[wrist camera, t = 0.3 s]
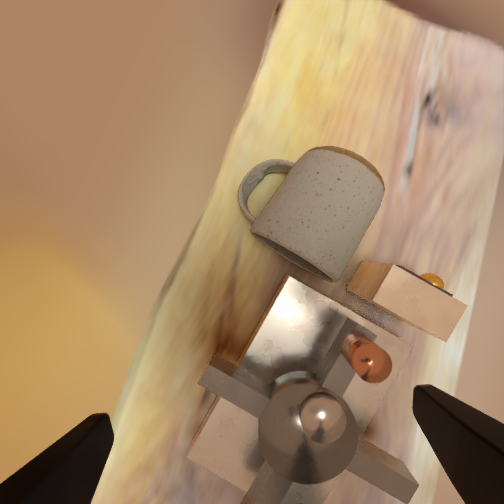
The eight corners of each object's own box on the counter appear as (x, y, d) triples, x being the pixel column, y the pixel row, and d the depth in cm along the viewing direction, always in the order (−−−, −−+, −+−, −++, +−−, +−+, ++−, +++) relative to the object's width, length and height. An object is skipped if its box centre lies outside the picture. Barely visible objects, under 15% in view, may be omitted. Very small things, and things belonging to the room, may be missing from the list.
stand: (303, 503, 22) (317, 577, 17) (193, 438, 22) (174, 493, 17) (430, 283, 22) (483, 293, 17) (317, 220, 22) (335, 210, 17)
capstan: (343, 561, 18) (369, 656, 14) (156, 453, 19) (127, 513, 14) (451, 375, 18) (512, 414, 14) (261, 268, 18) (262, 273, 14)
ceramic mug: (364, 203, 22) (421, 176, 14) (319, 279, 22) (351, 293, 14) (266, 147, 22) (269, 90, 14) (222, 221, 22) (202, 204, 15)
